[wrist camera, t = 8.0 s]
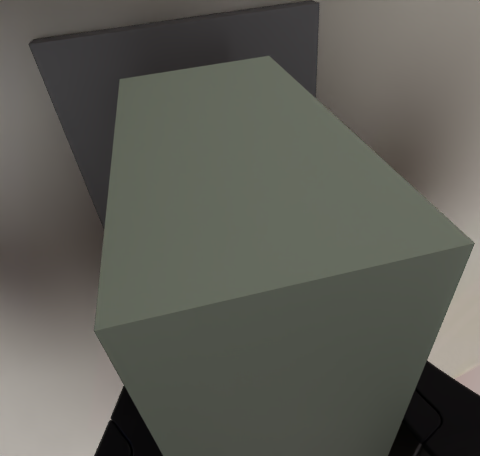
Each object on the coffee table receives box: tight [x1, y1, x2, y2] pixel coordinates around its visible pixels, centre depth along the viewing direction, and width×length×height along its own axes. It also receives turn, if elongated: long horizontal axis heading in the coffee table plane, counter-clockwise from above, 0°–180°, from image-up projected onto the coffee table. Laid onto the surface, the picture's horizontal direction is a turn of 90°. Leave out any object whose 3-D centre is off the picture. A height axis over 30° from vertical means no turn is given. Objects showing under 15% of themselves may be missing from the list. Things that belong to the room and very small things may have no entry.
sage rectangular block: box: [94, 56, 475, 456], centre depth 8 cm, size 9×3×6 cm, turn 5°
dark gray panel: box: [29, 0, 319, 228], centre depth 13 cm, size 7×12×1 cm, turn 5°
